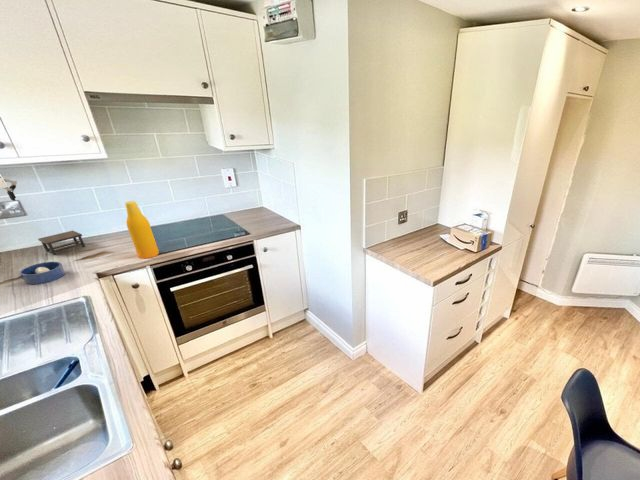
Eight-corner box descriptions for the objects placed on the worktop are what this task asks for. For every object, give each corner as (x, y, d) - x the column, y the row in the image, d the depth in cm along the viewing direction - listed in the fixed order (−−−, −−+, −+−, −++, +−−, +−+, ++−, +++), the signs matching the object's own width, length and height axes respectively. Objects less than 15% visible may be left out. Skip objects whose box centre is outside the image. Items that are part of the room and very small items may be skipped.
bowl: (32, 287, 140) (26, 277, 138) (20, 279, 145) (14, 270, 143) (71, 275, 151) (66, 265, 148) (58, 268, 156) (53, 259, 154)
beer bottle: (134, 258, 168) (113, 204, 154) (146, 251, 176) (127, 199, 163) (152, 259, 168) (133, 205, 155) (163, 251, 177) (146, 200, 163)
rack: (54, 259, 164) (46, 243, 160) (46, 254, 168) (37, 238, 164) (88, 249, 175) (81, 234, 171) (79, 245, 179) (72, 230, 175)
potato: (42, 280, 145) (38, 272, 142) (35, 276, 147) (31, 267, 145) (55, 276, 148) (51, 268, 146) (48, 272, 151) (44, 264, 149)
